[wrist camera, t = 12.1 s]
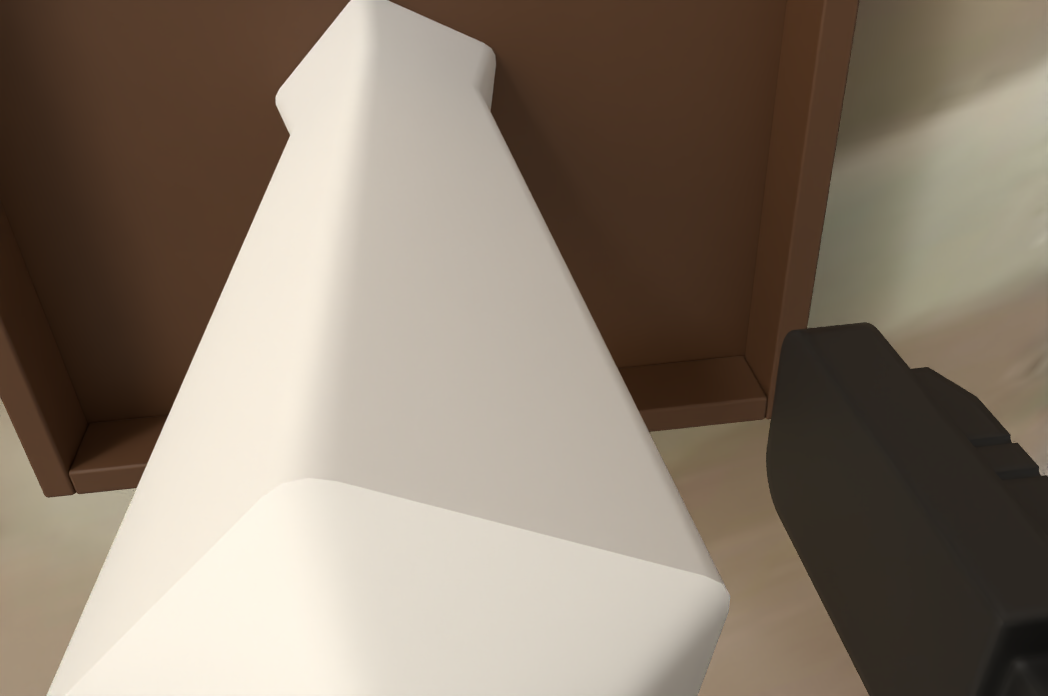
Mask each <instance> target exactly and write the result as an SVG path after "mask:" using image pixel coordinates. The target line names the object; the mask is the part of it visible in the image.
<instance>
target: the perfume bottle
mask: <svg viewBox="0 0 1048 696" xmlns="http://www.w3.org/2000/svg"><path fill="white" fill-rule="evenodd" d="M495 68H496V57H495V54H494V52H493V50H492V48H490V47H489V46H487V45H486V44H485V43H483V42H480V41H478V40H476V39H474V38H471V37H469V36H467V35H465V34H462V33H460V32H458V31H456V30H453V29H451V28H449V27H447V26H444V25H442V24H440V23H438V22H435V21H433V20H431V19H429V18H426V17H424V16H422V15H420V14H417V13H415V12H413V11H411V10H408V9H406V8H404V7H402V6H399V5H397V4H395V3H393V2H391V1H388V0H350V2H349V3H348V4H347V5H346V7H345V8H344V9H343V10H342V12H341V13H340V14H339V15H338V17H337V18H336V19H335V20H334V22H333V23H332V24H331V25H330V27H329V28H328V29H327V30H326V32H325V33H324V34H323V35H322V37H321V38H320V39H319V40H318V42H317V43H316V44H315V45H314V46H313V48H312V49H311V50H310V51H309V53H308V54H307V55H306V56H305V58H304V59H303V60H302V61H301V63H300V64H299V65H298V66H297V68H296V69H295V70H294V71H293V73H292V74H291V75H290V76H289V78H288V79H287V80H286V81H285V83H284V84H283V85H282V86H281V88H280V89H279V91H278V93H277V95H276V106H277V108H278V110H279V112H280V115H281V117H282V119H283V121H284V123H285V125H286V128H287V130H288V132H289V134H290V137H289V139H288V141H287V144H286V146H285V148H284V151H283V153H282V155H281V158H280V160H279V162H278V164H277V167H276V169H275V171H274V174H273V176H272V178H271V181H270V183H269V185H268V187H267V190H266V192H265V194H264V197H263V199H262V201H261V204H260V206H259V208H258V210H257V213H256V215H255V217H254V220H253V222H252V224H251V227H250V229H249V231H248V233H247V236H246V238H245V240H244V243H243V245H242V247H241V250H240V252H239V254H238V256H237V259H236V261H235V263H234V266H233V268H232V270H231V273H230V275H229V277H228V279H227V282H226V284H225V286H224V289H223V291H222V293H221V296H220V298H219V300H218V302H217V305H216V307H215V309H214V312H213V314H212V316H211V318H210V321H209V323H208V325H207V328H206V330H205V332H204V335H203V337H202V339H201V341H200V344H199V346H198V348H197V351H196V353H195V355H194V358H193V360H192V362H191V364H190V367H189V369H188V371H187V374H186V376H185V378H184V381H183V383H182V385H181V387H180V390H179V392H178V394H177V397H176V399H175V401H174V404H173V406H172V408H171V410H170V413H169V415H168V417H167V420H166V422H165V424H164V427H163V429H162V431H161V433H160V436H159V438H158V440H157V443H156V445H155V447H154V450H153V452H152V454H151V456H150V459H149V461H148V463H147V466H146V468H145V470H144V472H143V475H142V477H141V479H140V482H139V484H138V486H137V489H136V491H135V493H134V495H133V498H132V500H131V502H130V505H129V507H128V509H127V512H126V514H125V516H124V518H123V521H122V523H121V525H120V528H119V530H118V532H117V535H116V537H115V539H114V541H113V544H112V546H111V548H110V551H109V553H108V555H107V558H106V560H105V562H104V564H103V567H102V569H101V571H100V574H99V576H98V578H97V581H96V583H95V585H94V587H93V590H92V592H91V594H90V597H89V599H88V601H87V604H86V606H85V608H84V610H83V613H82V615H81V617H80V620H79V622H78V624H77V626H76V629H75V631H74V633H73V636H72V638H71V640H70V643H69V645H68V647H67V649H66V652H65V654H64V656H63V659H62V661H61V663H60V666H59V668H58V670H57V672H56V675H55V677H54V679H53V682H52V684H51V686H50V689H49V691H48V693H47V695H46V696H698V693H699V690H700V687H701V685H702V682H703V679H704V677H705V674H706V671H707V669H708V666H709V663H710V661H711V658H712V655H713V652H714V650H715V647H716V644H717V642H718V639H719V636H720V634H721V631H722V628H723V626H724V623H725V620H726V617H727V615H728V612H729V603H730V594H729V592H728V590H727V588H726V586H725V584H724V582H723V580H722V578H721V576H720V574H719V572H718V570H717V568H716V566H715V564H714V562H713V560H712V558H711V556H710V554H709V552H708V550H707V548H706V546H705V544H704V542H703V540H702V538H701V536H700V534H699V532H698V530H697V528H696V526H695V524H694V522H693V520H692V518H691V516H690V514H689V512H688V510H687V508H686V506H685V504H684V501H683V499H682V497H681V495H680V493H679V491H678V489H677V487H676V485H675V483H674V481H673V479H672V477H671V475H670V473H669V471H668V469H667V467H666V465H665V463H664V461H663V459H662V457H661V455H660V453H659V451H658V449H657V447H656V445H655V443H654V441H653V439H652V437H651V435H650V433H649V431H648V429H647V427H646V425H645V423H644V421H643V419H642V417H641V415H640V413H639V411H638V409H637V407H636V405H635V403H634V401H633V399H632V397H631V394H630V392H629V390H628V388H627V386H626V384H625V382H624V380H623V378H622V376H621V374H620V372H619V370H618V368H617V366H616V364H615V362H614V360H613V358H612V356H611V354H610V352H609V350H608V348H607V346H606V344H605V342H604V340H603V338H602V336H601V334H600V332H599V330H598V328H597V326H596V324H595V322H594V320H593V318H592V316H591V314H590V312H589V310H588V308H587V306H586V304H585V302H584V300H583V298H582V296H581V294H580V292H579V290H578V287H577V285H576V283H575V281H574V279H573V277H572V275H571V273H570V271H569V269H568V267H567V265H566V263H565V261H564V259H563V257H562V255H561V253H560V251H559V249H558V247H557V245H556V243H555V241H554V239H553V237H552V235H551V233H550V231H549V229H548V227H547V225H546V223H545V221H544V219H543V217H542V215H541V213H540V211H539V209H538V207H537V205H536V203H535V201H534V199H533V197H532V195H531V193H530V191H529V189H528V187H527V185H526V183H525V180H524V178H523V176H522V174H521V172H520V170H519V168H518V166H517V164H516V162H515V160H514V158H513V156H512V154H511V152H510V150H509V148H508V146H507V144H506V142H505V140H504V138H503V136H502V134H501V132H500V130H499V128H498V126H497V124H496V122H495V120H494V118H493V116H492V114H491V103H492V94H493V86H494V77H495Z"/></svg>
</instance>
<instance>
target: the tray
mask: <svg viewBox="0 0 1048 696" xmlns="http://www.w3.org/2000/svg"><path fill="white" fill-rule="evenodd" d="M388 1H391V2H393V3H395V4H397V5H399V6H402V7H404V8H406V9H408V10H411V11H413V12H415V13H417V14H420V15H422V16H424V17H426V18H429V19H431V20H433V21H435V22H438V23H440V24H442V25H444V26H447V27H449V28H451V29H453V30H456V31H458V32H460V33H462V34H465V35H467V36H469V37H471V38H474V39H476V40H478V41H480V42H483V43H485V44H486V45H487V46H489V47H490V48H492V50H493V52H494V54H495V57H496V68H495V77H494V86H493V94H492V103H491V114H492V116H493V118H494V120H495V122H496V124H497V126H498V128H499V130H500V132H501V134H502V136H503V138H504V140H505V142H506V144H507V146H508V148H509V150H510V152H511V154H512V156H513V158H514V160H515V162H516V164H517V166H518V168H519V170H520V172H521V174H522V176H523V178H524V180H525V183H526V185H527V187H528V189H529V191H530V193H531V195H532V197H533V199H534V201H535V203H536V205H537V207H538V209H539V211H540V213H541V215H542V217H543V219H544V221H545V223H546V225H547V227H548V229H549V231H550V233H551V235H552V237H553V239H554V241H555V243H556V245H557V247H558V249H559V251H560V253H561V255H562V257H563V259H564V261H565V263H566V265H567V267H568V269H569V271H570V273H571V275H572V277H573V279H574V281H575V283H576V285H577V287H578V290H579V292H580V294H581V296H582V298H583V300H584V302H585V304H586V306H587V308H588V310H589V312H590V314H591V316H592V318H593V320H594V322H595V324H596V326H597V328H598V330H599V332H600V334H601V336H602V338H603V340H604V342H605V344H606V346H607V348H608V350H609V352H610V354H611V356H612V358H613V360H614V362H615V364H616V366H617V368H618V370H619V372H620V374H621V376H622V378H623V380H624V382H625V384H626V386H627V388H628V390H629V392H630V394H631V397H632V399H633V401H634V403H635V405H636V407H637V409H638V411H639V413H640V415H641V417H642V419H643V421H644V423H645V425H646V427H647V429H648V431H649V432H652V431H661V430H671V429H680V428H689V427H698V426H707V425H716V424H725V423H735V422H744V421H753V420H762V419H764V418H766V419H771V416H772V408H773V401H774V394H775V387H776V380H777V373H778V366H779V359H780V352H781V347H782V344H783V340H784V338H785V336H786V335H787V334H788V332H790V331H791V330H798V329H807V324H808V318H809V312H810V306H811V300H812V293H813V287H814V281H815V275H816V268H817V262H818V256H819V250H820V243H821V237H822V231H823V225H824V218H825V212H826V206H827V200H828V193H829V187H830V181H831V175H832V168H833V162H834V156H835V150H836V143H837V137H838V131H839V125H840V118H841V112H842V106H843V100H844V94H845V87H846V81H847V75H848V69H849V62H850V56H851V50H852V44H853V37H854V31H855V25H856V19H857V12H858V6H859V0H388ZM349 2H350V0H0V397H1V399H2V401H3V404H4V406H5V408H6V410H7V413H8V415H9V417H10V419H11V421H12V424H13V426H14V428H15V430H16V433H17V435H18V437H19V439H20V441H21V444H22V446H23V448H24V450H25V453H26V455H27V457H28V459H29V461H30V464H31V466H32V468H33V470H34V473H35V475H36V477H37V479H38V481H39V484H40V486H41V488H42V490H43V493H44V495H45V496H46V497H58V496H67V495H73V494H75V493H76V492H77V493H78V494H85V493H94V492H103V491H112V490H122V489H131V488H137V486H138V484H139V482H140V479H141V477H142V475H143V472H144V470H145V468H146V466H147V463H148V461H149V459H150V456H151V454H152V452H153V450H154V447H155V445H156V443H157V440H158V438H159V436H160V433H161V431H162V429H163V427H164V424H165V422H166V420H167V417H168V415H169V413H170V410H171V408H172V406H173V404H174V401H175V399H176V397H177V394H178V392H179V390H180V387H181V385H182V383H183V381H184V378H185V376H186V374H187V371H188V369H189V367H190V364H191V362H192V360H193V358H194V355H195V353H196V351H197V348H198V346H199V344H200V341H201V339H202V337H203V335H204V332H205V330H206V328H207V325H208V323H209V321H210V318H211V316H212V314H213V312H214V309H215V307H216V305H217V302H218V300H219V298H220V296H221V293H222V291H223V289H224V286H225V284H226V282H227V279H228V277H229V275H230V273H231V270H232V268H233V266H234V263H235V261H236V259H237V256H238V254H239V252H240V250H241V247H242V245H243V243H244V240H245V238H246V236H247V233H248V231H249V229H250V227H251V224H252V222H253V220H254V217H255V215H256V213H257V210H258V208H259V206H260V204H261V201H262V199H263V197H264V194H265V192H266V190H267V187H268V185H269V183H270V181H271V178H272V176H273V174H274V171H275V169H276V167H277V164H278V162H279V160H280V158H281V155H282V153H283V151H284V148H285V146H286V144H287V141H288V139H289V137H290V134H289V132H288V130H287V128H286V125H285V123H284V121H283V119H282V117H281V115H280V112H279V110H278V108H277V106H276V95H277V93H278V91H279V89H280V88H281V86H282V85H283V84H284V83H285V81H286V80H287V79H288V78H289V76H290V75H291V74H292V73H293V71H294V70H295V69H296V68H297V66H298V65H299V64H300V63H301V61H302V60H303V59H304V58H305V56H306V55H307V54H308V53H309V51H310V50H311V49H312V48H313V46H314V45H315V44H316V43H317V42H318V40H319V39H320V38H321V37H322V35H323V34H324V33H325V32H326V30H327V29H328V28H329V27H330V25H331V24H332V23H333V22H334V20H335V19H336V18H337V17H338V15H339V14H340V13H341V12H342V10H343V9H344V8H345V7H346V5H347V4H348V3H349Z"/></svg>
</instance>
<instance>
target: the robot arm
mask: <svg viewBox="0 0 1048 696" xmlns="http://www.w3.org/2000/svg"><path fill="white" fill-rule="evenodd" d="M1010 436H1011V435H1010V434H1009V433H1008V431H1007V430H1006V429H1005V428H1004V427H1003V426H1002V425H1001V424H1000V422H999V421H998V420H997V419H996V418H995V417H994V416H993V415H992V413H991V412H990V411H989V410H988V409H987V408H986V407H985V405H984V404H983V403H982V402H981V401H980V400H979V399H978V398H977V397H976V396H975V395H973V394H971V393H970V392H968V391H966V390H965V389H963V388H961V387H960V386H958V385H957V384H955V383H953V382H952V381H950V380H948V379H947V378H945V377H943V376H942V375H940V374H938V373H937V372H935V371H934V370H932V369H930V368H929V367H924V368H915V369H910V368H909V367H908V365H907V364H906V363H905V362H904V361H903V359H902V358H901V357H900V356H899V355H898V353H897V352H896V351H895V350H894V348H893V347H892V346H891V345H890V344H889V342H888V341H887V340H886V339H885V337H884V336H883V335H882V334H881V333H880V331H879V330H878V329H877V328H876V327H875V326H873V325H872V324H870V323H867V322H864V323H854V324H845V325H836V326H826V327H817V328H808V329H798V330H791V331H790V332H788V334H787V335H786V336H785V338H784V340H783V344H782V347H781V352H780V359H779V366H778V373H777V380H776V387H775V394H774V401H773V408H772V416H771V423H770V430H769V437H768V444H767V453H766V467H767V477H768V483H769V489H770V493H771V497H772V500H773V503H774V506H775V509H776V511H777V513H778V515H779V517H780V519H781V521H782V523H783V525H784V527H785V529H786V531H787V533H788V535H789V537H790V539H791V541H792V543H793V545H794V547H795V549H796V551H797V553H798V555H799V557H800V559H801V561H802V563H803V565H804V567H805V569H806V571H807V573H808V575H809V577H810V579H811V581H812V583H813V585H814V587H815V589H816V591H817V593H818V595H819V597H820V599H821V601H822V603H823V605H824V607H825V608H826V610H827V612H828V614H829V616H830V618H831V620H832V622H833V624H834V626H835V628H836V630H837V632H838V634H839V636H840V638H841V640H842V642H843V644H844V646H845V648H846V650H847V652H848V654H849V656H850V658H851V660H852V662H853V664H854V666H855V668H856V670H857V672H858V674H859V676H860V678H861V680H862V682H863V684H864V686H865V688H866V690H867V692H868V694H869V696H1048V477H1047V475H1045V476H1041V475H1040V473H1039V466H1038V465H1037V464H1036V463H1035V462H1034V461H1033V460H1032V459H1031V457H1030V456H1029V455H1028V454H1027V453H1026V452H1025V451H1024V449H1023V448H1022V447H1021V446H1020V445H1019V444H1018V443H1012V442H1011V439H1010Z"/></svg>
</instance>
